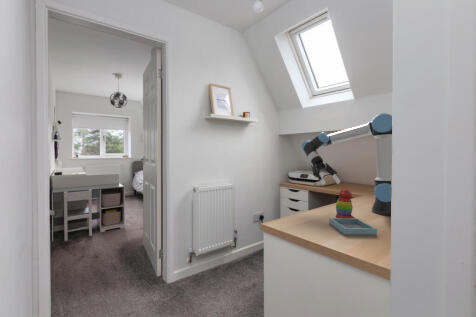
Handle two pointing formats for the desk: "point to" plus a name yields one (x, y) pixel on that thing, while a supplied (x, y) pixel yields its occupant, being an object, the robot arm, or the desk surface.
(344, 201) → the stacking bear
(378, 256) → the desk surface
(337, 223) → the blue-grey square tray
